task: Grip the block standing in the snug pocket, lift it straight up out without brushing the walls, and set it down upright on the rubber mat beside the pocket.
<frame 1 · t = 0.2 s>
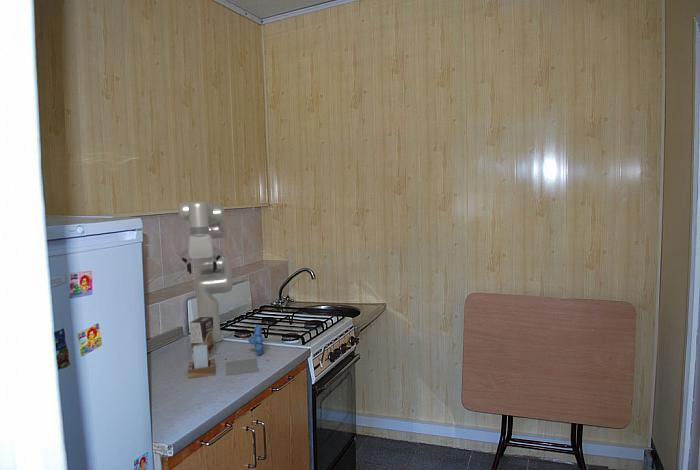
hand: (202, 272, 199), 36 cm above the counter, tool pointing down, fingers open, 9 cm apart
grapes: (257, 354, 204), on the counter
pocket holder: (202, 372, 185), on the counter
coffee box: (204, 356, 203), on the counter
block: (201, 359, 185), in the pocket holder
mat: (241, 367, 189), on the counter
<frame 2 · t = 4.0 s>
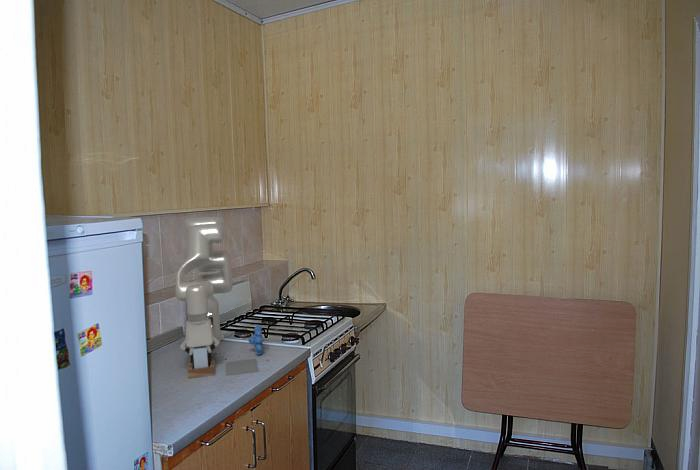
hand: (201, 362, 185), 4 cm above the counter, tool pointing down, fingers closed on block, 5 cm apart
block: (201, 359, 185), in the pocket holder, touching gripper
everything else where it was.
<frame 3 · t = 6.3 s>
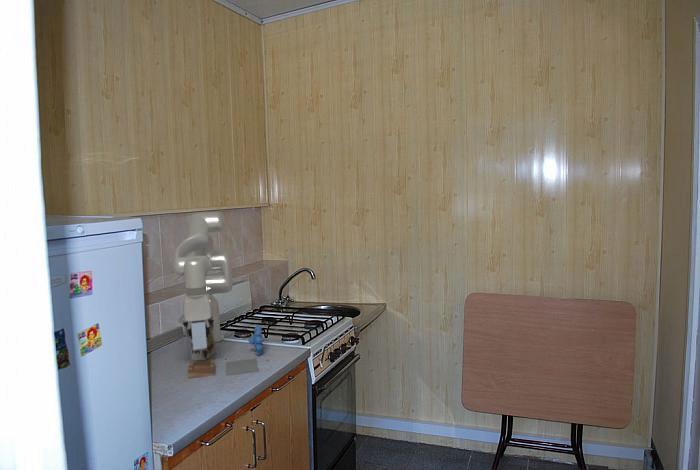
hand: (199, 336, 184), 14 cm above the counter, tool pointing down, fingers closed on block, 5 cm apart
block: (199, 334, 184), point 15 cm above the counter, touching gripper
everything else where it was.
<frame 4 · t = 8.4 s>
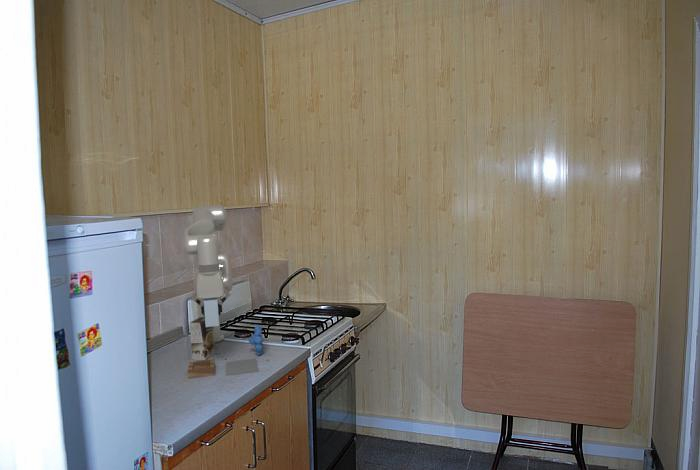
hand: (212, 314, 184), 22 cm above the counter, tool pointing down, fingers closed on block, 5 cm apart
block: (211, 312, 184), point 23 cm above the counter, touching gripper
everything else where it was.
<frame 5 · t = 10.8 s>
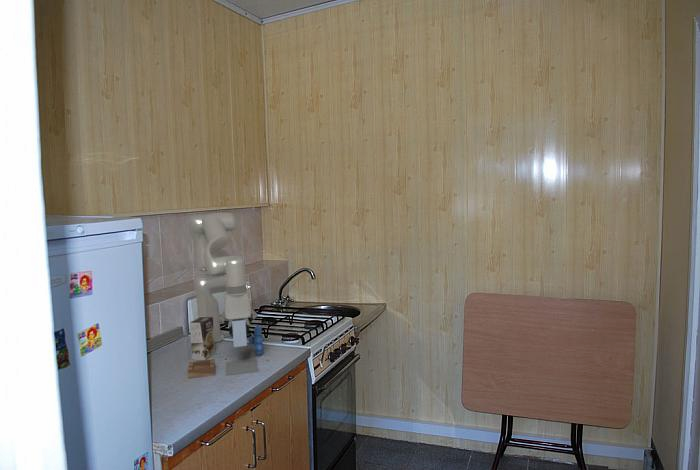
hand: (239, 334, 187), 13 cm above the counter, tool pointing down, fingers closed on block, 5 cm apart
block: (239, 332, 187), point 14 cm above the counter, touching gripper
everything else where it was.
when the fingers open (5 cm above the counter, at t = 13.1 s): block stays where it is, resting on mat.
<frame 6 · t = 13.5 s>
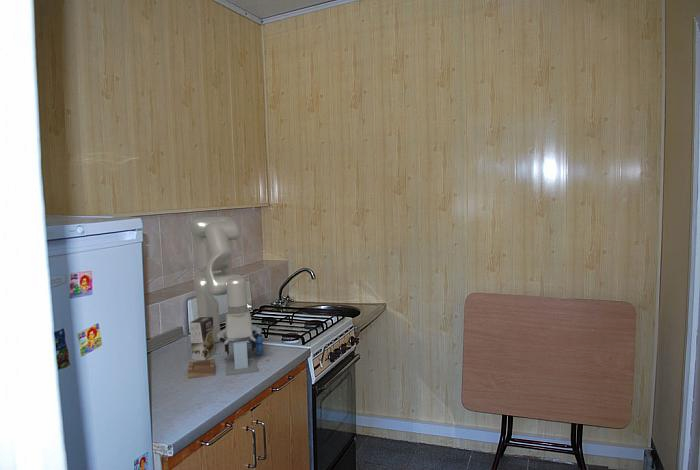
hand: (240, 351, 188), 6 cm above the counter, tool pointing down, fingers open, 9 cm apart
block: (240, 353, 188), on the mat
everything else where it was.
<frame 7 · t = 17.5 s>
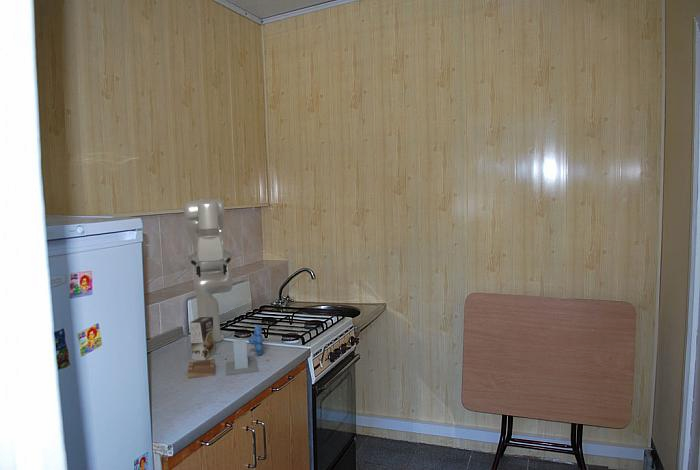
hand: (212, 275, 191), 36 cm above the counter, tool pointing down, fingers open, 9 cm apart
nothing on the counter moved.
at the end: block inside the target area on the mat (0.1 cm from its centre), point 5.4 cm above the mat's base; block tilted 0°; the gripper is holding nothing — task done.
